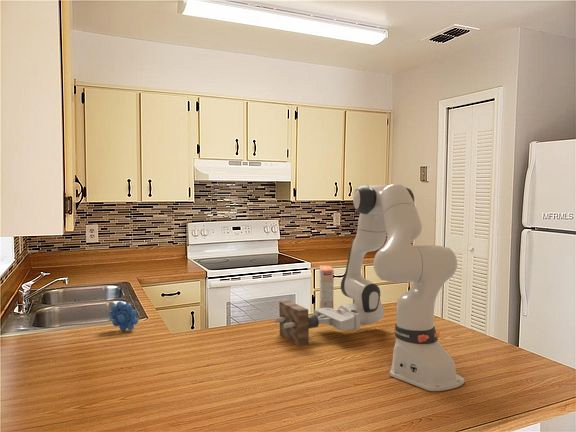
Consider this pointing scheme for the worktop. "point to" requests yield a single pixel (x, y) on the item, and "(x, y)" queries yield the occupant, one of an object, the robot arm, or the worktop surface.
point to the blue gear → (123, 316)
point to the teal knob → (280, 319)
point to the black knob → (312, 322)
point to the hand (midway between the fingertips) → (315, 321)
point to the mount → (294, 314)
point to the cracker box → (326, 286)
